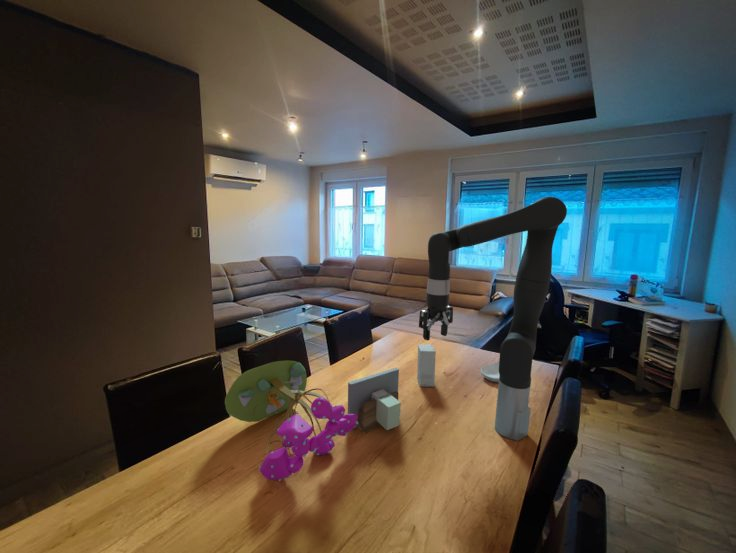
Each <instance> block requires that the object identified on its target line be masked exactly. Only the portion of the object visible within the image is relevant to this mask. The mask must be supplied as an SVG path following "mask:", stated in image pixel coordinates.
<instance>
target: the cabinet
mask: <svg viewBox="0 0 736 553" xmlns="http://www.w3.org/2000/svg"><path fill="white" fill-rule="evenodd" d="M373 399H375V400H377V406H376V421H377V422H378V423H380V424H381V425H382V427H383V428H384V429H385V430H386V431H389V430H391V429H393V428H396V427H398V426H400V421H401V420H400V418H401V417H400V416H401V408H402V407H401V401H400V400H399V399H398V400H397V399H396V398H394V397H393V396H392V395H390V394H388V393H387V392H386V391H384V390H383V389H382V390H379V391H376V392H374V393H372V399H371V400H373Z"/></svg>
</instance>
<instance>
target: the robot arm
mask: <svg viewBox="0 0 736 553" xmlns="http://www.w3.org/2000/svg"><path fill="white" fill-rule="evenodd" d="M567 213H568V207H567V206H566V204H565V202H564V201H563V200H561V199H560V198H558V197H556V196H555V197H554V196H545V197H542V198H540V199H539V198H538V199H537V200H536V201H535V202H533V203H530V204H528V205H526V206H525V207H522V208H520V209H517V210H514V211H511V212H508V213H504V214H502V215H498V216H494V217H489V218H485V219H482V220H478V221H473V222H471V223H467V224H464V225H461V226H458V227H457V228H453V229H450V230H446V231H442V232H435V233H434V234H432V235H431V236H430V237H429V239H428V243H427V256H428V274H427V276H428V277H427V283H426V297H425V298H426V300H425V301H426V302H425V304H426V306H427V310H423V309H422V310H419V318H418V328H419V329H422V337H423V340H425V341H430V339H431V338H430V337H431V328H432V326H434V325H435V323H436V322H440V323H441V324H440V335H441V336H443V337H446V336H447V335H448V330H449V329H448V328H449V327H448V326H449V325H450V324H453V321H454V320H453V319H454V318H453V316H454V308H453V307H454V306H450V305H449V304H450V290H451V289H450V288H451V285H450V277H451V276H450V275H451V264H450V262H449V259H450V252H453V251H455V250H459V249H462V248H469V247H473V246H478V245H481V244H484V243H487V242H488V243H489V242H491V241H494V240H497V239H500V238H503V237H507V236H510V235H514V234H519V233H524V232H527V234H526V235H527V236H526V241H525V246H524V249H523V252H522V256H521V258H520V262H519V266H518V268H517V274H516V276H515V277H516V278H515V281H514V289H513V317H512V320H511V325H510V328H509V331H508V333H507V336H506V337H505V339H504V340H503V341H502V343H501V344H500V351H499V360H498V362H499V374H500V375H499V382H498V388H497V396H496V397H497V399H496V408H495V409H496V410H495V420H494V429H495V431H496V432H497V434H499V435H500V436H502V437H505V438H507V439H510V440H514V441H516V442H519V441H521V440H522V439H523V438H525V437H526V436H528V435H529V427H530V419H531V410H532V409H531V407H530V406H529V402H530V401H529V400H530V394H531V392H530V391H531V386H532V384H531V383H532V368H533V367H532V366H533V358H534V354H535V352H536V348H537V347H536V346H537V335H538V334H537V333H538V332H537V331H538V327H539V326H538V325H539V320H540V317H541V314H542V312H543V309H544V305H545V303H546V299H547V296H548V293H549V288H550V283H551V277H552V268H553V267H552V266H553V261H552V260H553V246H554V241H555V238H556V234H557V231H558V228H559V226H560V225H562V224H563V222H564V221H565V219H566V217H567Z"/></svg>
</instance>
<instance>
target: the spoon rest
mask: <svg viewBox="0 0 736 553" xmlns="http://www.w3.org/2000/svg"><path fill="white" fill-rule="evenodd" d="M480 373H481V375H482V376H483V378H485V379H486V380H488V381H490V382H494V383H499V375H500V374H499V361H496V362H495V361H494V362H493V363H488V364H486V365H483V366H482V367H481V368H480Z"/></svg>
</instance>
